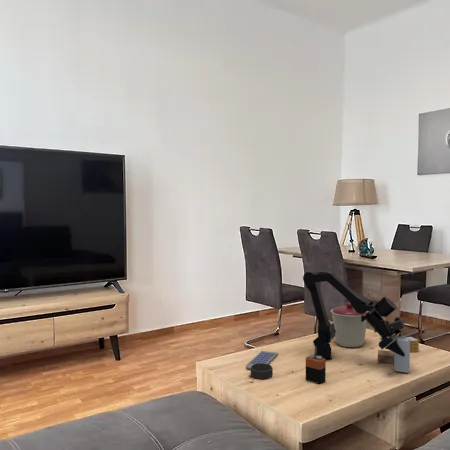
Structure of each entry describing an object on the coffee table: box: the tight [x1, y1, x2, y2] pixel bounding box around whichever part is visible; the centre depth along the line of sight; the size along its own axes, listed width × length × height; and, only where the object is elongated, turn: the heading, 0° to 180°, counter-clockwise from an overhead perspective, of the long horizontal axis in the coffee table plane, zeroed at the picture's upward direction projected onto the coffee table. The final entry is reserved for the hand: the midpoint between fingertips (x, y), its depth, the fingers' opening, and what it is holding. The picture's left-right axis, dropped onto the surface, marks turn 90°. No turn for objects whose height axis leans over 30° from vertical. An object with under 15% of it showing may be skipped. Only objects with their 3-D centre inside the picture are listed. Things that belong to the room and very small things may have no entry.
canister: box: [330, 301, 369, 348], centre depth 231 cm, size 18×18×21 cm
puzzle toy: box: [406, 336, 420, 354], centre depth 220 cm, size 6×6×6 cm
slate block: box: [393, 336, 411, 374], centre depth 194 cm, size 5×5×13 cm
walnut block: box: [377, 349, 394, 366], centre depth 206 cm, size 7×7×4 cm
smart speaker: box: [250, 363, 274, 380], centre depth 191 cm, size 9×9×4 cm
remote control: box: [245, 350, 279, 372], centre depth 207 cm, size 8×23×2 cm, turn 157°
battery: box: [305, 354, 327, 385], centre depth 185 cm, size 4×7×10 cm, turn 47°
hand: (405, 354), depth 193 cm, fingers closed on slate block, 5 cm apart
